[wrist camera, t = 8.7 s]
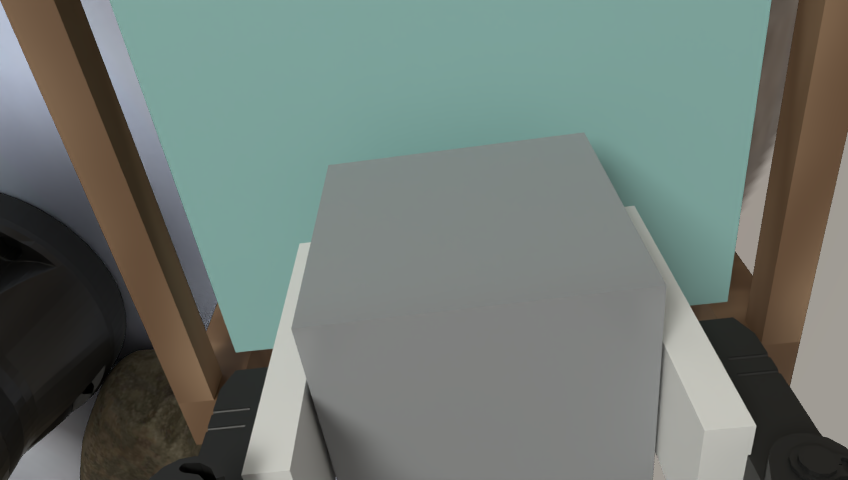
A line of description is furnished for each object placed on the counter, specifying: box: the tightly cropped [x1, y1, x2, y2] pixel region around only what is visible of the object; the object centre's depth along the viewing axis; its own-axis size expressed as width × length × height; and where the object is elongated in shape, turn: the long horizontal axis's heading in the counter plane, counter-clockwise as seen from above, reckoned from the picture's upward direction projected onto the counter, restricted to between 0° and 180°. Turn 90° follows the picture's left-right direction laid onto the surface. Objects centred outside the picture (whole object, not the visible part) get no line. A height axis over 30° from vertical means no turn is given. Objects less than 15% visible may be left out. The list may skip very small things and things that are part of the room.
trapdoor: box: [110, 0, 771, 352], centre depth 18 cm, size 15×18×4 cm
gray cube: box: [291, 132, 667, 480], centre depth 15 cm, size 6×6×6 cm
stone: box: [80, 349, 202, 480], centre depth 42 cm, size 9×14×10 cm, turn 155°
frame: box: [0, 0, 848, 445], centre depth 24 cm, size 20×20×15 cm
